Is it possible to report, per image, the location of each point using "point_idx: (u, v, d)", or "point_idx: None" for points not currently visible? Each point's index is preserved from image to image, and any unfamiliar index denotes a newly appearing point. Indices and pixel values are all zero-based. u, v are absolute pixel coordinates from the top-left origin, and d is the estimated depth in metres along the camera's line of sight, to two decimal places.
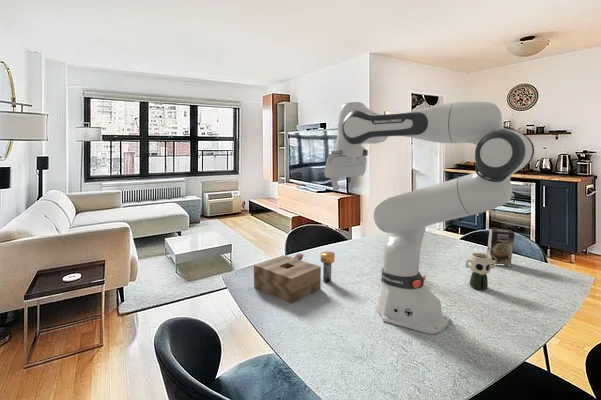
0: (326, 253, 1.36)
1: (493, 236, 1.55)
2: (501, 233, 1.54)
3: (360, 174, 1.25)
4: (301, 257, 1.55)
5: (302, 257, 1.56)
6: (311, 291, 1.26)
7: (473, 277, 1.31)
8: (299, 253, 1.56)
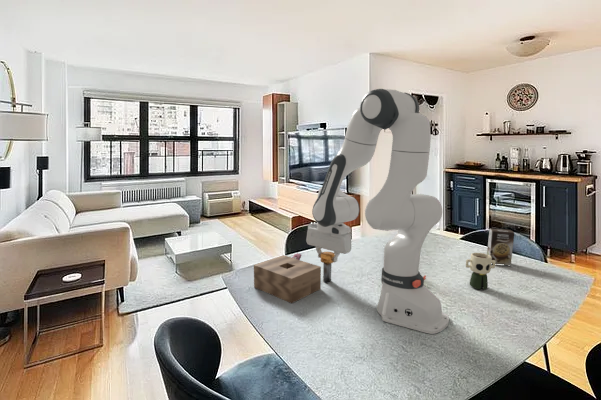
0: (326, 253, 1.36)
1: (493, 236, 1.55)
2: (501, 233, 1.54)
3: (339, 251, 1.29)
4: (299, 257, 1.55)
5: (300, 257, 1.56)
6: (311, 291, 1.26)
7: (473, 277, 1.31)
8: (297, 253, 1.56)
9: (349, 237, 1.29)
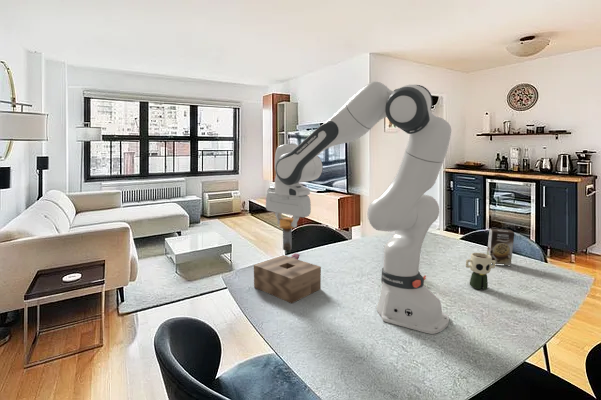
0: (286, 219, 1.27)
1: (493, 236, 1.55)
2: (501, 233, 1.54)
3: (297, 215, 1.20)
4: (297, 257, 1.55)
5: (298, 257, 1.56)
6: (311, 291, 1.26)
7: (473, 277, 1.31)
8: (295, 253, 1.56)
9: (308, 200, 1.20)
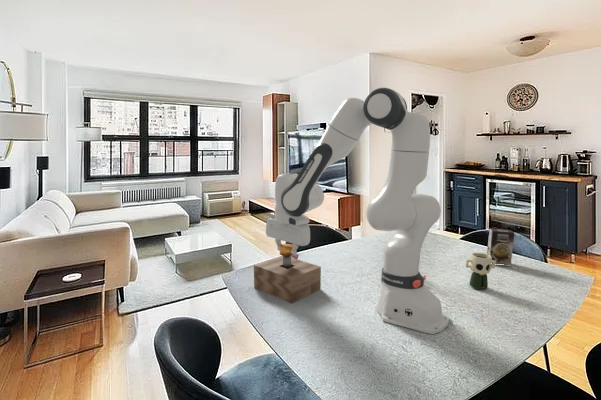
0: (285, 245, 1.28)
1: (493, 236, 1.55)
2: (501, 233, 1.54)
3: (297, 243, 1.22)
4: (297, 257, 1.55)
5: None
6: (311, 291, 1.26)
7: (473, 277, 1.31)
8: None
9: (308, 228, 1.21)
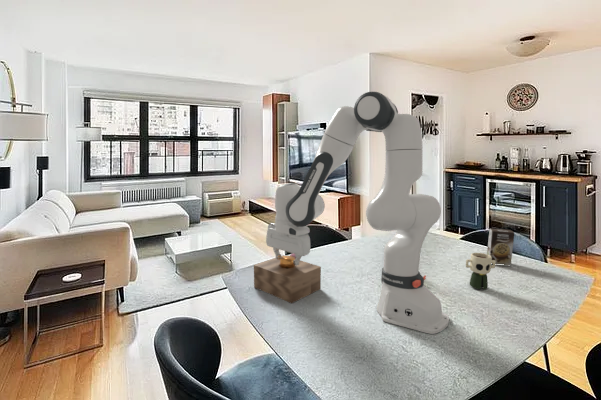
0: (286, 257, 1.29)
1: (493, 236, 1.55)
2: (501, 233, 1.54)
3: (297, 253, 1.22)
4: (295, 257, 1.55)
5: None
6: (311, 291, 1.26)
7: (473, 277, 1.31)
8: None
9: (308, 238, 1.22)
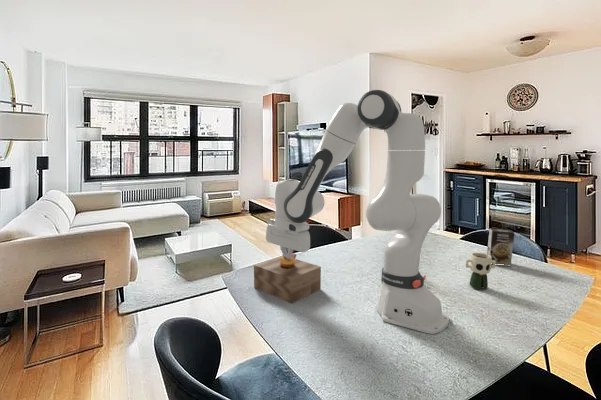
0: None
1: (493, 236, 1.55)
2: (501, 233, 1.54)
3: (297, 249, 1.22)
4: (294, 257, 1.55)
5: (295, 257, 1.57)
6: (311, 291, 1.26)
7: (473, 277, 1.31)
8: None
9: (308, 235, 1.22)
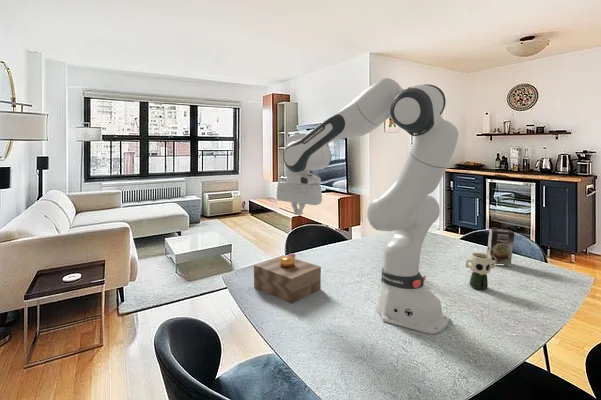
0: (286, 257, 1.29)
1: (493, 236, 1.55)
2: (501, 233, 1.54)
3: (309, 203, 1.23)
4: None
5: (294, 257, 1.57)
6: (311, 291, 1.26)
7: (473, 277, 1.31)
8: (291, 253, 1.57)
9: (319, 188, 1.23)
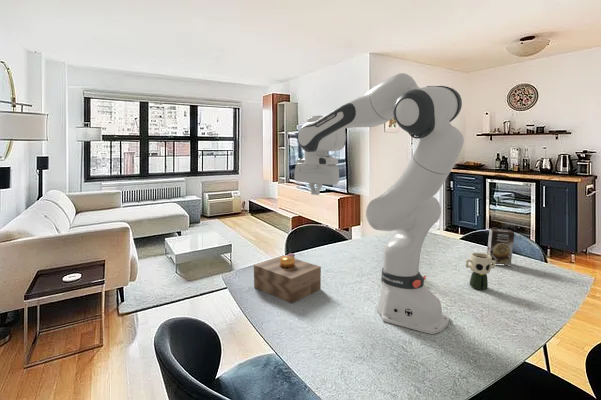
0: (286, 257, 1.29)
1: (493, 236, 1.55)
2: (501, 233, 1.54)
3: (327, 183, 1.27)
4: None
5: None
6: (311, 291, 1.26)
7: (473, 277, 1.31)
8: None
9: (337, 168, 1.27)
